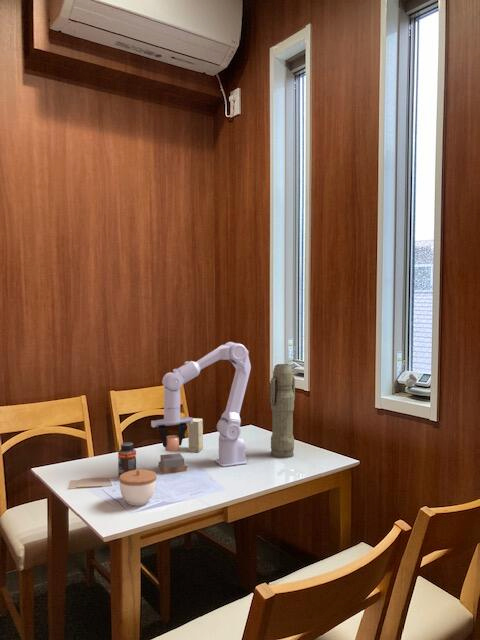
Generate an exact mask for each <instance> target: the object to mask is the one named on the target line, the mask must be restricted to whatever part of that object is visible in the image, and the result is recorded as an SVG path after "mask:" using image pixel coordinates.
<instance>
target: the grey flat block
mask: <svg viewBox="0 0 480 640" xmlns="http://www.w3.org/2000/svg"><path fill="white" fill-rule="evenodd" d="M159 457H160V459H159V460H160V461H159V462H161V464H162V465H163V467H164V468H169V467H179V466H184V464H185V458H184V457H183V455H182V454H181V453H180V452H178V453H167V454H166V453H165V454H160V456H159Z"/></svg>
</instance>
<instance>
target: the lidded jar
mask: <svg viewBox="0 0 480 640" xmlns="http://www.w3.org/2000/svg"><path fill="white" fill-rule="evenodd" d="M118 479H119V489H120V490H119V491H120V494H121V497H122V498H123V499H124V500H125V501H126V502H127V504H128V503H129V504H128V505H130V504H131V505H130V506H134V505H136V506H143V505H146V504H148V503H149V501H150V500H151V499H152V498H153V496H154V494H155V492H156V489H157V473H156V472H155V471H153V470H149V469H139V468H138V469H136V470H132V471H128V472H125V473H123V474H121V475H120V477H119V476H118Z"/></svg>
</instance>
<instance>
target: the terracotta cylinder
mask: <svg viewBox="0 0 480 640" xmlns="http://www.w3.org/2000/svg"><path fill="white" fill-rule="evenodd" d="M166 444H167V445H166V447H164V448H165V450H164V451H166V452H170V453H173V452H174V453H175V452H178V451H180V446H179V436H178V435H175V434H173V435H170V434H169V435H166Z"/></svg>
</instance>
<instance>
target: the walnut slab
mask: <svg viewBox="0 0 480 640" xmlns="http://www.w3.org/2000/svg"><path fill="white" fill-rule="evenodd" d="M157 467H158V469H159V470H160V471H161V472H162V474H163V475H169V474H170V475H171V474H176V473H184V472H188V471H187V469H188V468H187V467H188V466H187V464H186V463H184V466H179V467H169V468H164V467H163V465H162V464H161V462H160V461H158V466H157Z"/></svg>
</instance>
